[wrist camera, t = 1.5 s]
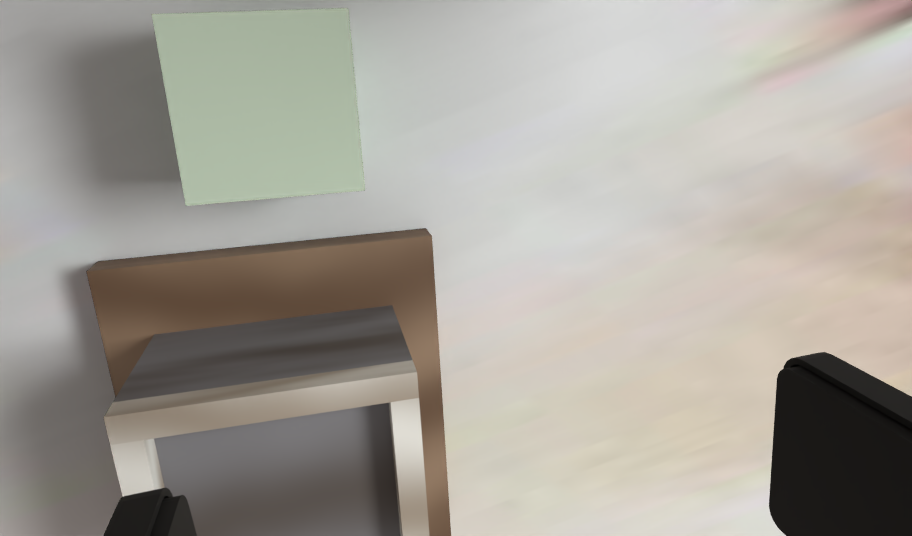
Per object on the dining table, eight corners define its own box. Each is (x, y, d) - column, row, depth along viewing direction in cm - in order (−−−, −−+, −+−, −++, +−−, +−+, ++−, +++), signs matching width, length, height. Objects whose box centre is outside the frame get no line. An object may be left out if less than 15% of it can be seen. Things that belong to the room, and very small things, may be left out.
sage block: (186, 29, 25) (151, 14, 20) (339, 23, 26) (348, 7, 21) (211, 179, 27) (185, 205, 21) (354, 168, 28) (365, 190, 22)
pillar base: (98, 261, 27) (8, 337, 19) (425, 228, 29) (469, 282, 21) (168, 571, 31) (120, 738, 23) (445, 518, 34) (486, 652, 26)
